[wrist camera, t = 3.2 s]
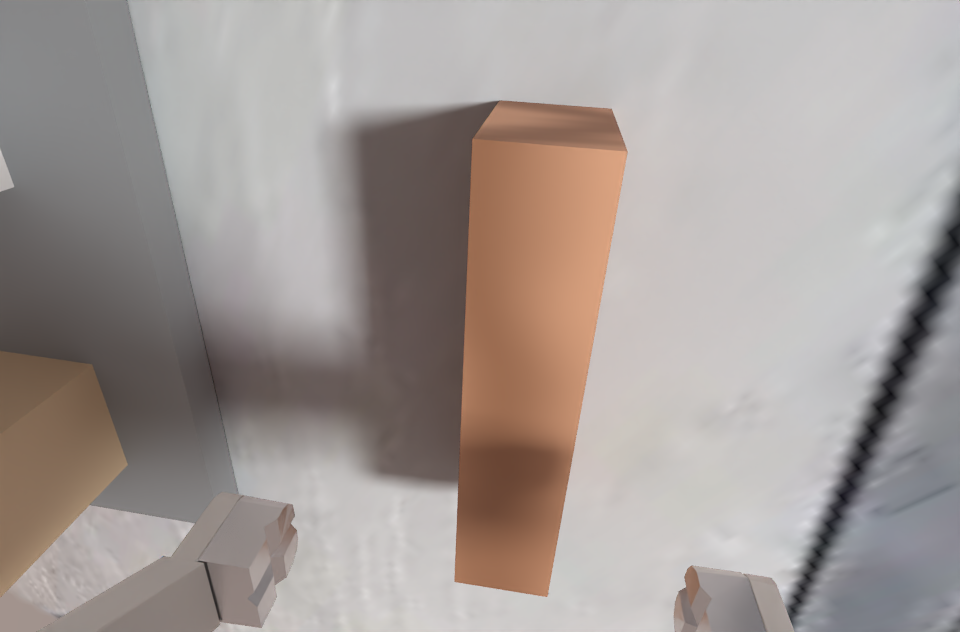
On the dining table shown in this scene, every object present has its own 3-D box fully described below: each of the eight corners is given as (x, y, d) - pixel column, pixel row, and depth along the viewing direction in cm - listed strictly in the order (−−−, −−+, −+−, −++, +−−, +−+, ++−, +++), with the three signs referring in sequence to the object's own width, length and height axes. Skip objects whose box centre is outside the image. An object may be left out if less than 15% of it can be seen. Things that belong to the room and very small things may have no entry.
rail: (611, 107, 15) (627, 151, 11) (551, 479, 22) (547, 597, 18) (500, 99, 15) (472, 138, 11) (477, 469, 22) (454, 581, 18)
